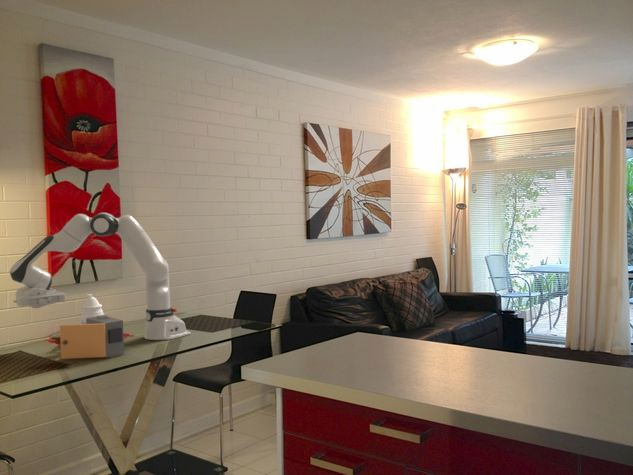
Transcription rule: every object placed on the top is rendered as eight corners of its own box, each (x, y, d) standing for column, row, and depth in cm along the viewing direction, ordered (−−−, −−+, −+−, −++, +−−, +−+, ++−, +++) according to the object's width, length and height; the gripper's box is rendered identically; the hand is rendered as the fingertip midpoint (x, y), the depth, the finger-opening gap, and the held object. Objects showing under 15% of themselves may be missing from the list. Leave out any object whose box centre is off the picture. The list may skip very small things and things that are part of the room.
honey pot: (97, 330, 315) (95, 296, 314) (75, 329, 317) (73, 295, 316) (110, 325, 327) (109, 292, 326) (89, 324, 330) (87, 292, 329)
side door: (62, 357, 253) (60, 324, 252) (106, 356, 254) (105, 323, 254) (60, 359, 250) (58, 326, 249) (104, 357, 252) (103, 324, 251)
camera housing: (104, 348, 273) (103, 313, 272) (125, 355, 260) (124, 318, 259) (87, 351, 267) (86, 315, 266) (107, 358, 254) (106, 321, 253)
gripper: (11, 293, 265) (23, 296, 256) (57, 288, 280) (70, 291, 270) (11, 308, 266) (23, 311, 256) (58, 302, 280) (71, 305, 271)
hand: (48, 301), depth 263 cm, fingers closed
